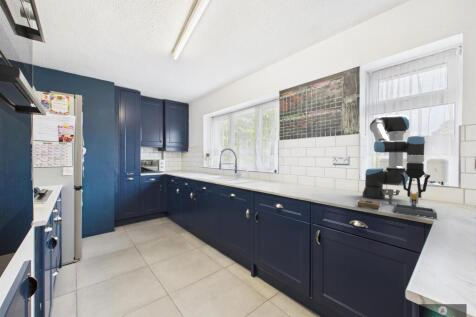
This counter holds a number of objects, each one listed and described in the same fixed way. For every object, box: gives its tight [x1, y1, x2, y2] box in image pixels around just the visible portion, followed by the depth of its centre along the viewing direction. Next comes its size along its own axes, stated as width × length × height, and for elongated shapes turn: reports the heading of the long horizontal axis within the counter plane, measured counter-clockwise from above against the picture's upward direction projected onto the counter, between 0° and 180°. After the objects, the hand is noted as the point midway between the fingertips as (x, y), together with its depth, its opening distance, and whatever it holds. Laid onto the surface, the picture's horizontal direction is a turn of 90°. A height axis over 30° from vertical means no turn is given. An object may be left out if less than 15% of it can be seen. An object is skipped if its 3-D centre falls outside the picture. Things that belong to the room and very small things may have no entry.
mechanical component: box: [382, 188, 401, 205], centre depth 138 cm, size 3×10×10 cm, turn 78°
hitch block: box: [357, 198, 380, 211], centre depth 130 cm, size 11×11×3 cm
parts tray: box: [393, 203, 438, 219], centre depth 116 cm, size 11×18×3 cm, turn 52°
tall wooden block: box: [410, 192, 417, 210], centre depth 116 cm, size 5×2×10 cm, turn 142°
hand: (413, 202), depth 116 cm, fingers closed on tall wooden block, 2 cm apart
